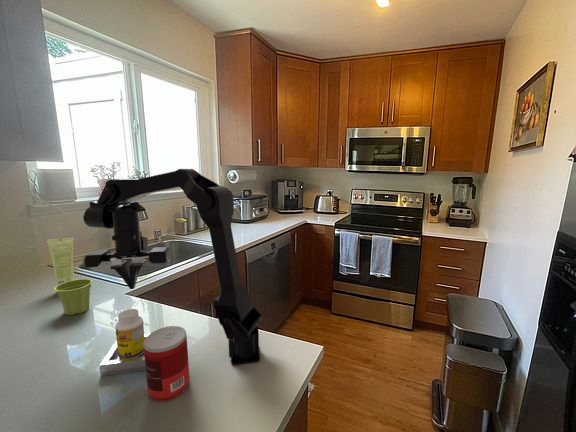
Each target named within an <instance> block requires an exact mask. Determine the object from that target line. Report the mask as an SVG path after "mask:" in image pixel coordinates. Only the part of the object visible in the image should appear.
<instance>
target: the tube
mask: <svg viewBox="0 0 576 432" xmlns="http://www.w3.org/2000/svg"><path fill="white" fill-rule="evenodd" d="M74 238H75V237H65V238H56V239H55V238H54V239H53V238H52V239H46V243H47V248H48V249H49V253H50V259H51V261H52V266H53V271H54V277H55V283H56V286H57V285H59V284H62V283H64V282H68V281H72V280H75V275H74V274H75V272H74Z"/></svg>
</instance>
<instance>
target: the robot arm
mask: <svg viewBox="0 0 576 432" xmlns="http://www.w3.org/2000/svg"><path fill="white" fill-rule="evenodd" d="M104 184H105V185H104V187H103V189H102V191H101V192H100V193H101V194H100V195H99V198H98V199H97V201H89V207H88V208H86V210H85V211H84V213H83V218H82V219H83V222H84V224H85V225H86V226H87V227H89V228H95V229H109V230H110V229H112V230H113V235H112V236H111V240H112V241H114V249H115V252H112V251H110V249H98V250H93V251H91V252H89V253H87V254H86V255H85V256H84V257H83V260H82V262H83V267H84V268H98V267H99V266H100V265H101V264H102V263H103V262H105V263H106V262H111V266H110V270H115V272H117V274H118V275H119V276H120V277H121V278H122V280H123V281H124V283H125V284H126V285H127V286H128V288H129V289H130V290H134V289H135V288H136V285H137V281H138V279H139V278H138V277H139V274H140V272H141V269H142V268H143V267H144V266H145V265H146V264H147V263H148V262H149V263H152V264H164V263H167V262H168V261H169V260H170V258H171V256H172V254H171V249H170V247H168V246H159V247H158V246H157V247H156V246H155V247H153V248H152V249H151V250H150V251H145V250H148V245H149V244H148V239H149V238H148V237H146V236H143V233H142V230H141V229H140V228H141V227H140V220H139V217H140V216H139V213H140V212H145V211H146V208H145V207H144V206H142V205H141V204H140V203H139V202H138V200H139V201H140V200H141V199H143V198H145V197H147V196H148V195H151V194H154V193H157V192H158V193H159V192H164V191H168V190H174V189H181V190H182V192H183V193H184V194H185V196H186V198H187V199H188V200H189V201H191V203H193V204H195V206H196V209H197V211H198V214H199V218H200V219H201V220H202V222H203V223H204V224H205V226H206V227H207V228H208V230H209V236H210V239H211V240H210V241H211V246H212V250H213V256H214V261H215V266H216V272H217V275H218V282H219V288H220V291H219V295H218V296H217V297H216V298H214V299H213V300H212V301H213V306H214V310H215V317H214V318H215V319H218V323H219V324H220V326H221V327H222V328H223V332H224V334H225V337H226V339H227V340H228V357H229V358H230V359H231V360H230V363H231V365H232V366H233V365H241V364H249V363H257V362H260V361H261V354H260V337H259V335H260V334H259V333H260V332H259V327H258V325H259V324H260V323H261V321H262V318H263V314H262V313H261V312H260V311H259V310H258V309H257V308H256V306H254V304H253V301H252V298H251V296H250V293H249V291H248V290H247V289H246V288H245V286H244V285H243V284H242V280H241V279H242V278H241V275H240V274H241V273H240V269H239V268H240V267H239V263H238V257H237V251H236V246H235V242H234V236H233V229H232V220H233V216H234V212H235V210H234V206H235V205H234V195H233V192H232V191H231V190H230V189H229V188H228V187H226V186H220V185H219V184H218V183H217V182H215V181H213V180H212V179H210V178H207V177H206V176H204V175H203V174H201V173H199V172H198V171H197V170H195V169H194V168H178V169H176V170H173V171H170V172H165V173H161V174H160V173H159V174H155V175H151V176H150V175H149V176H147V177H141V178H118V179H117V178H115V179H108V180H106V182H105V183H104Z"/></svg>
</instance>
